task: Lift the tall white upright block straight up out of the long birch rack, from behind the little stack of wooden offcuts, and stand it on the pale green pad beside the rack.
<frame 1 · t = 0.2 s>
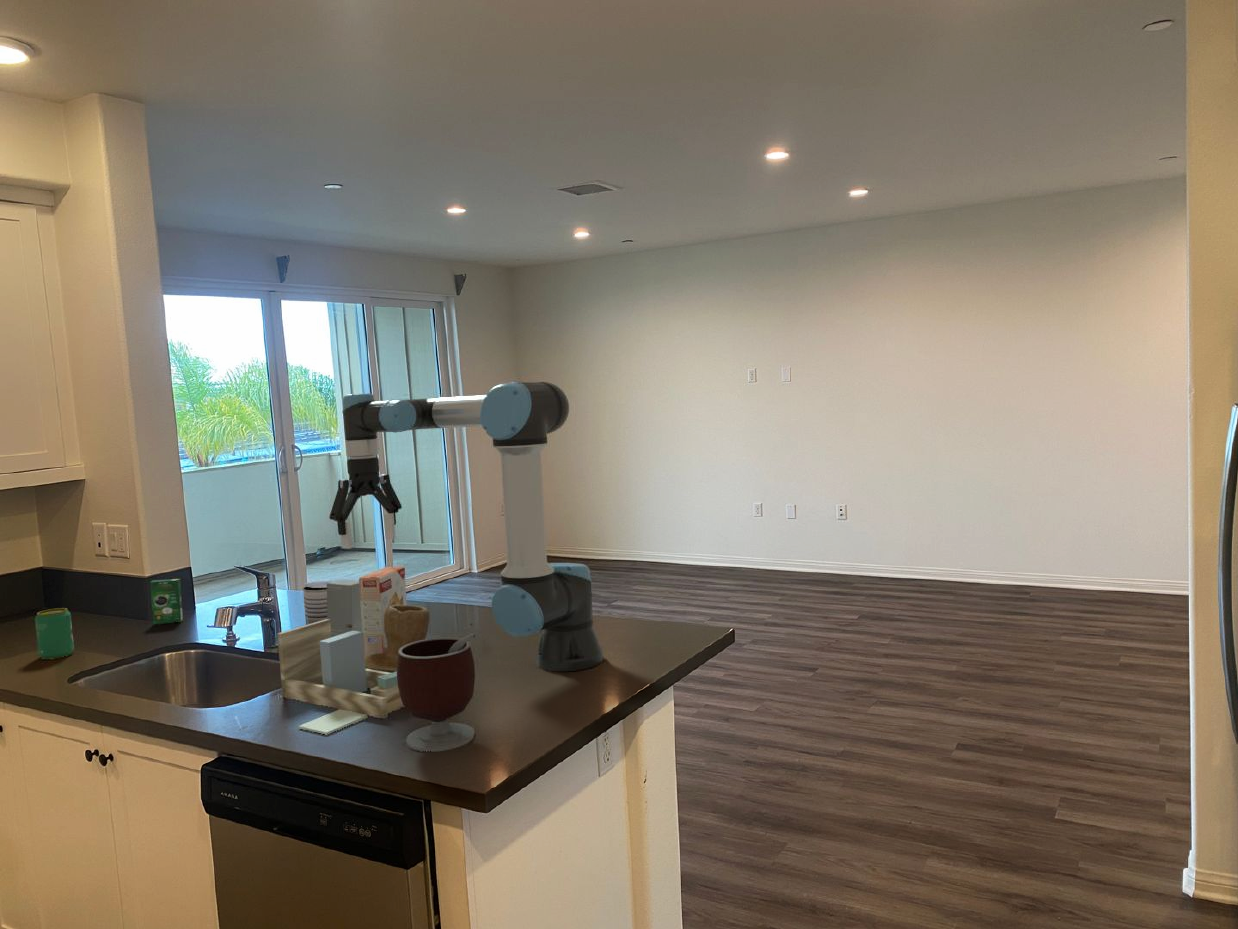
hand: (369, 543, 221), 28 cm above the worktop, tool pointing down, fingers open, 13 cm apart
rack: (355, 697, 191), on the worktop
offcut pine: (390, 697, 184), point 2 cm above the worktop, touching offcut oak, offcut teal
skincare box: (349, 640, 238), on the worktop
coffee box: (168, 623, 269), on the worktop
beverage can: (57, 656, 238), on the worktop
mate gourd: (444, 740, 165), on the worktop
cracker box: (388, 656, 222), on the worktop
can: (326, 624, 258), on the worktop
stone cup: (401, 670, 210), on the worktop
pad: (333, 723, 176), on the worktop
offcut oak: (394, 708, 184), on the worktop, touching offcut pine
offcut teal: (392, 684, 184), point 4 cm above the worktop, touching offcut pine
tall white upright block: (346, 696, 192), resting in rack
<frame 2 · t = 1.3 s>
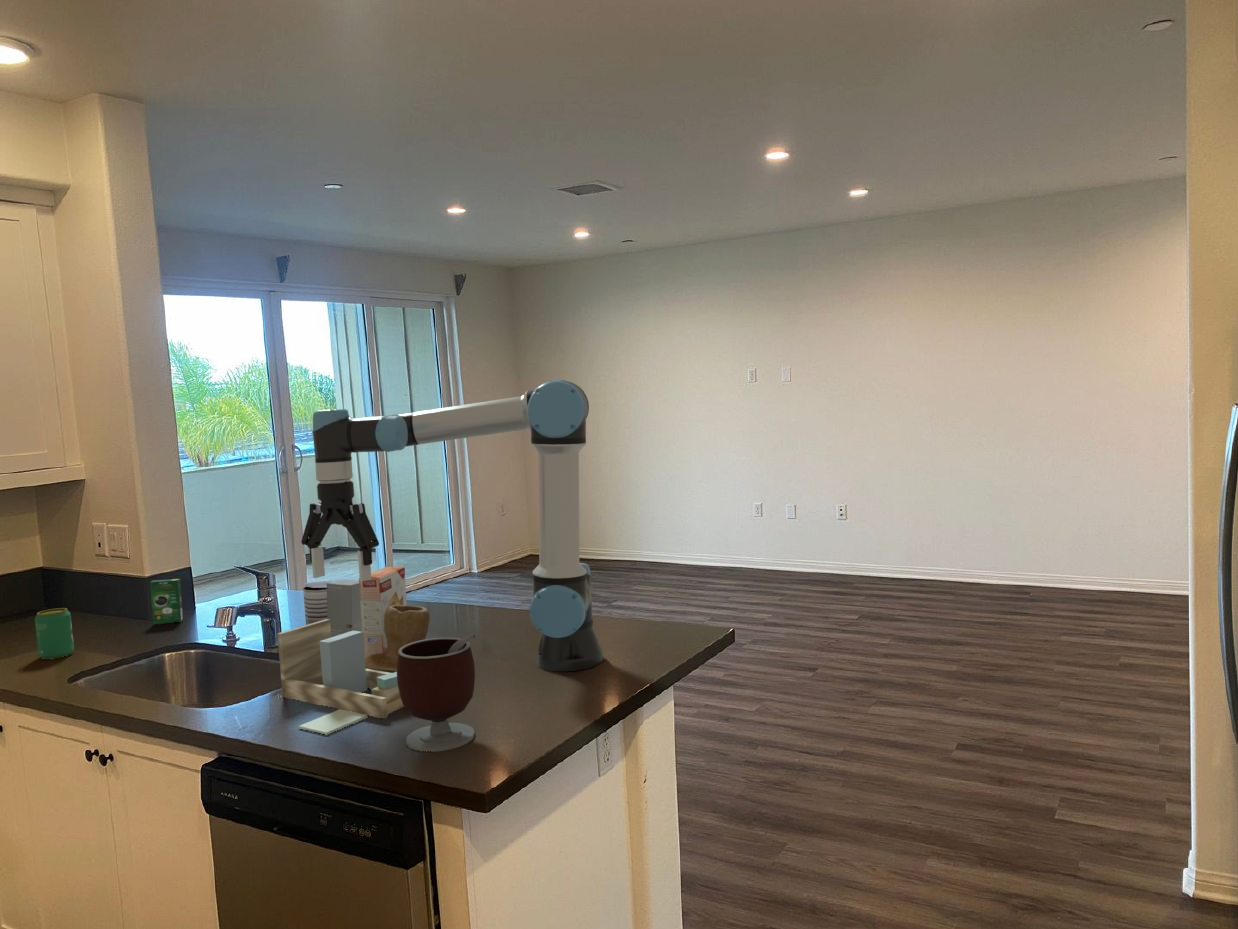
hand: (342, 578, 195), 24 cm above the worktop, tool pointing down, fingers open, 13 cm apart
offcut pine: (391, 697, 184), point 2 cm above the worktop, touching offcut oak
offcut teal: (392, 685, 184), point 4 cm above the worktop
everything else where it was.
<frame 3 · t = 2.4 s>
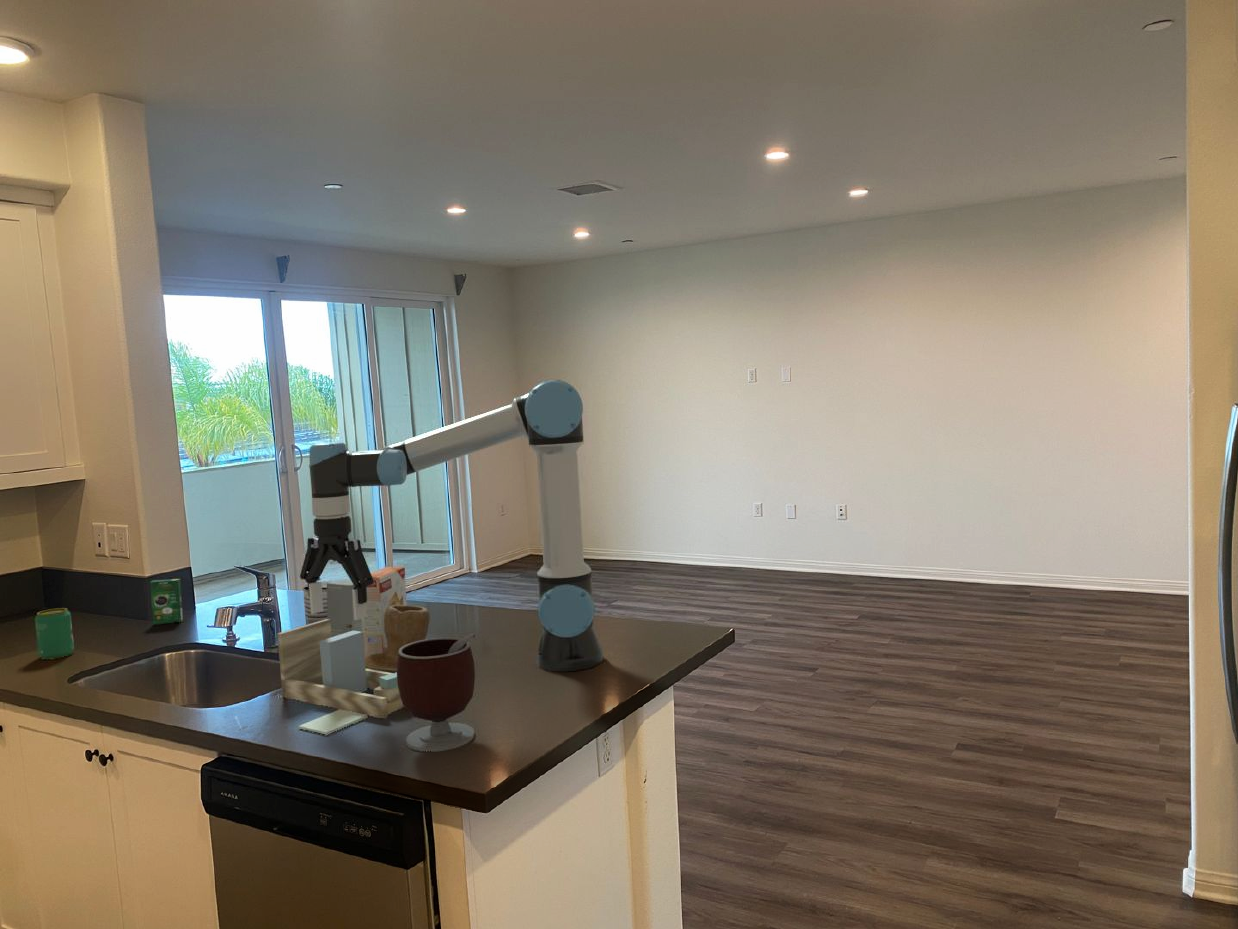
hand: (338, 615, 191), 17 cm above the worktop, tool pointing down, fingers open, 13 cm apart
offcut pine: (393, 696, 184), point 2 cm above the worktop, touching offcut oak, offcut teal
offcut teal: (394, 685, 184), point 4 cm above the worktop, touching offcut pine
everything else where it was.
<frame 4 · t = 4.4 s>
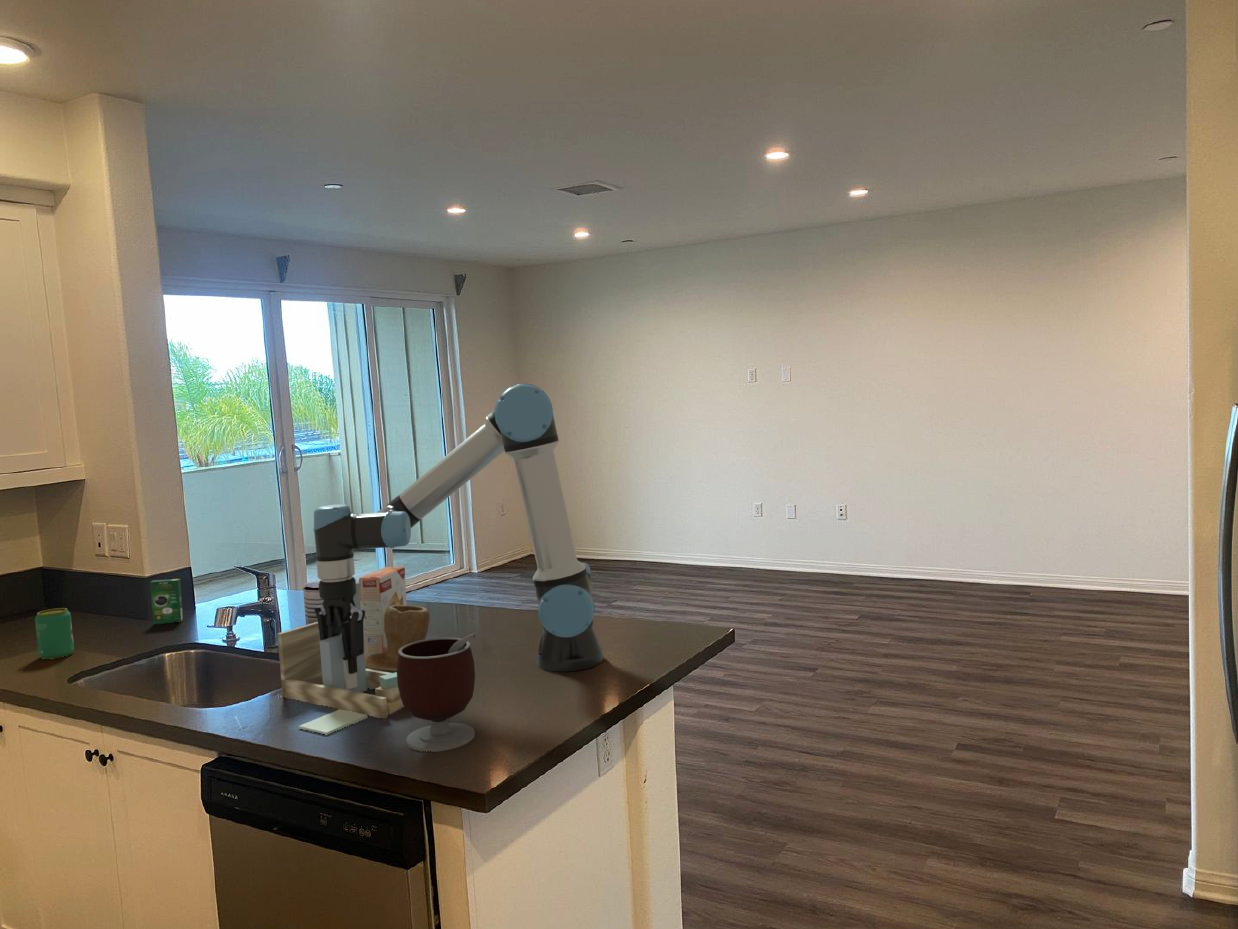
hand: (345, 686, 192), 2 cm above the worktop, tool pointing down, fingers closed on tall white upright block, 3 cm apart
offcut pine: (394, 696, 184), point 2 cm above the worktop
offcut oak: (396, 708, 184), on the worktop
offcut teal: (394, 684, 184), point 4 cm above the worktop
tall white upright block: (346, 696, 192), resting in rack, touching gripper
everything else where it was.
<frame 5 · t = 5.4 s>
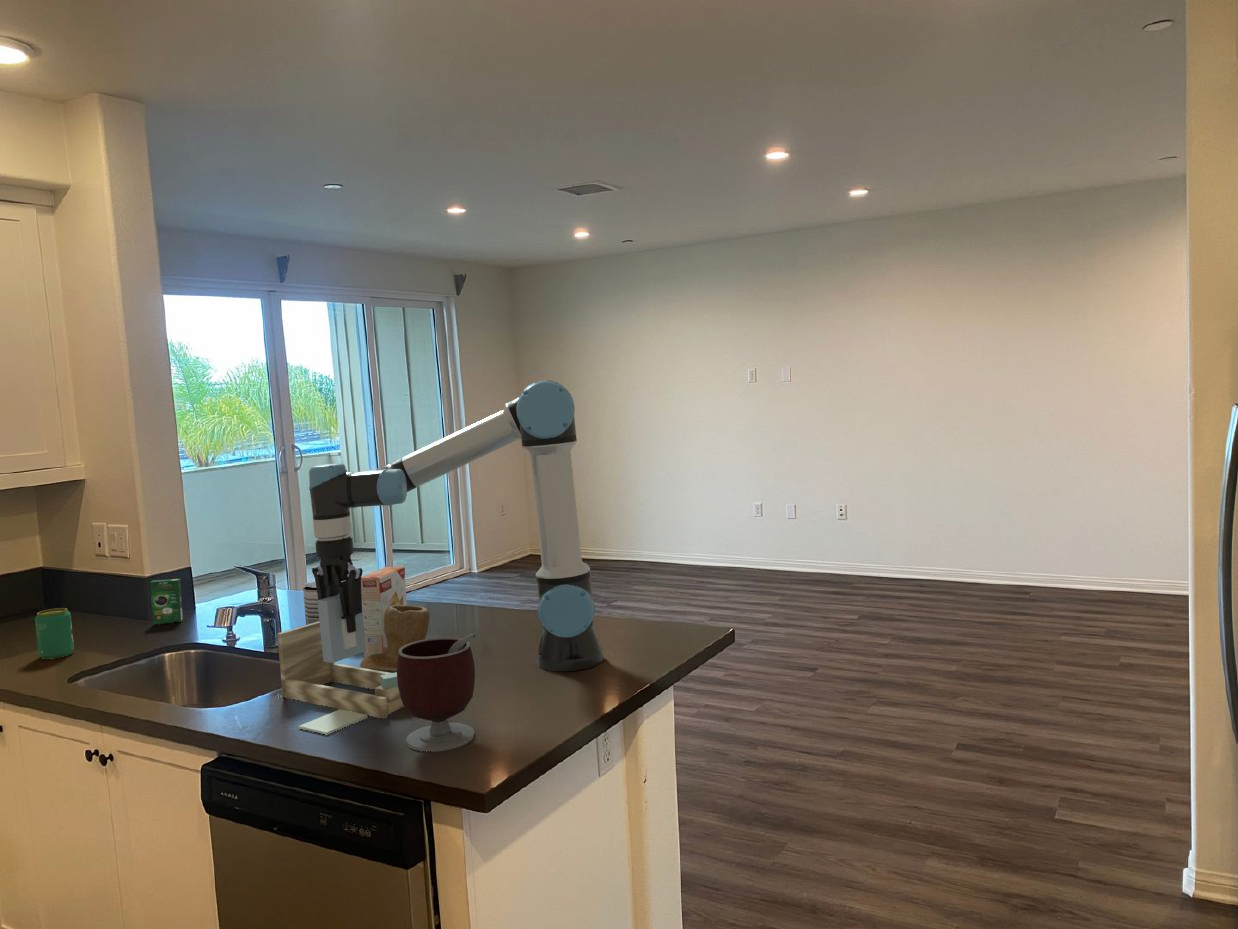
hand: (344, 646, 191), 11 cm above the worktop, tool pointing down, fingers closed on tall white upright block, 3 cm apart
offcut pine: (394, 696, 184), point 2 cm above the worktop, touching offcut oak, offcut teal
offcut oak: (395, 708, 185), on the worktop, touching offcut pine
offcut teal: (394, 684, 184), point 4 cm above the worktop, touching offcut pine
tall white upright block: (345, 656, 192), point 9 cm above the worktop, touching gripper
everything else where it was.
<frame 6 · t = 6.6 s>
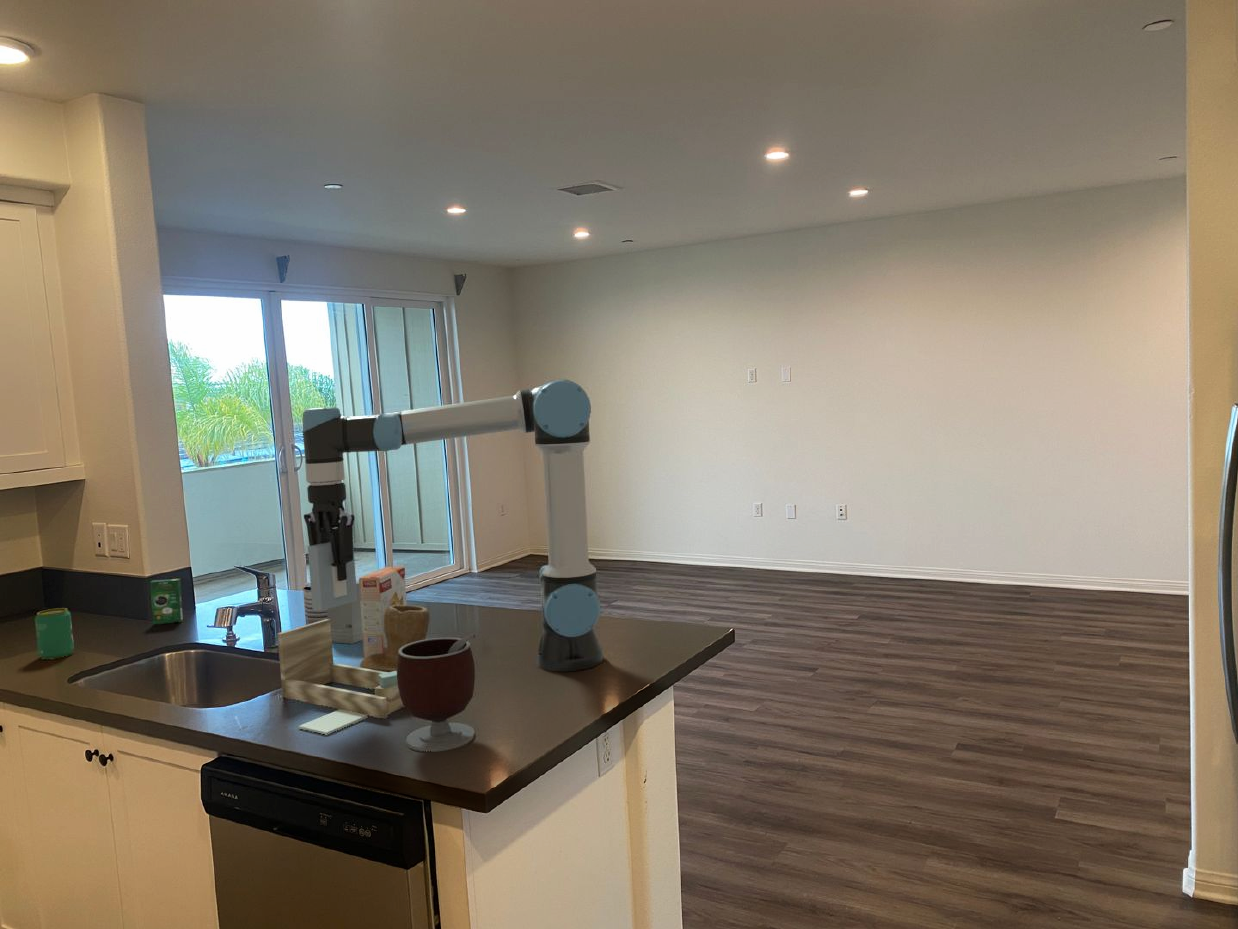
hand: (334, 594, 187), 23 cm above the worktop, tool pointing down, fingers closed on tall white upright block, 3 cm apart
tall white upright block: (335, 604, 187), point 21 cm above the worktop, touching gripper
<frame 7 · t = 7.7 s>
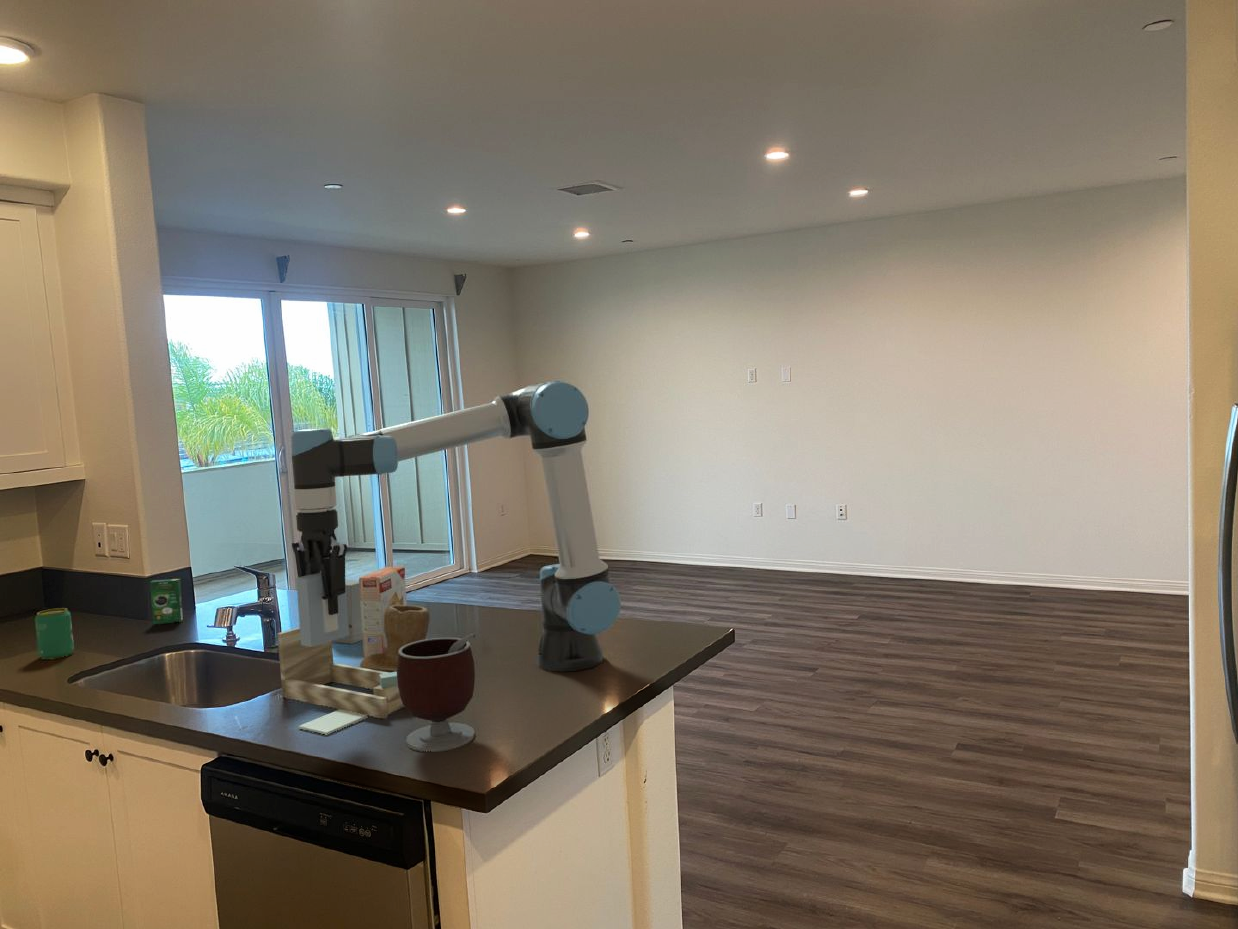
hand: (324, 629, 174), 19 cm above the worktop, tool pointing down, fingers closed on tall white upright block, 3 cm apart
tall white upright block: (325, 640, 174), point 17 cm above the worktop, touching gripper
when the fingers open (4 cm above the worktop, at t = 10.1 s): tall white upright block stays where it is, resting on pad.
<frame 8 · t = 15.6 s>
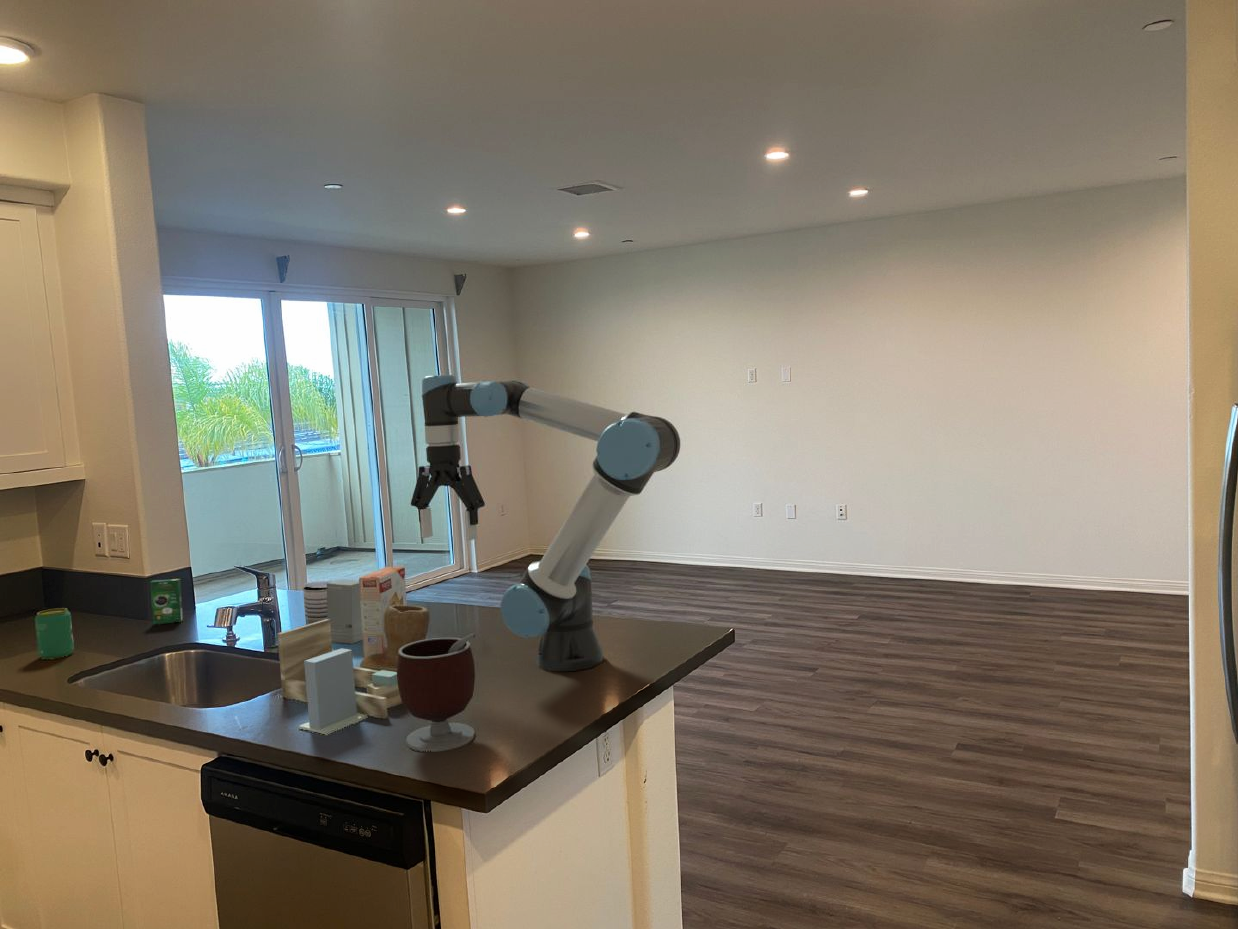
hand: (449, 538, 203), 31 cm above the worktop, tool pointing down, fingers open, 13 cm apart
offcut pine: (387, 694, 186), point 2 cm above the worktop, touching offcut oak
offcut oak: (388, 706, 186), on the worktop, touching offcut pine
offcut teal: (386, 683, 185), point 4 cm above the worktop
tall white upright block: (333, 720, 176), point 1 cm above the worktop, touching pad
everything else where it was.
at the end: tall white upright block inside the target area on the pad (0.0 cm from its centre), point 0.6 cm above the pad's base; tall white upright block tilted 0°; the gripper is holding nothing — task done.
